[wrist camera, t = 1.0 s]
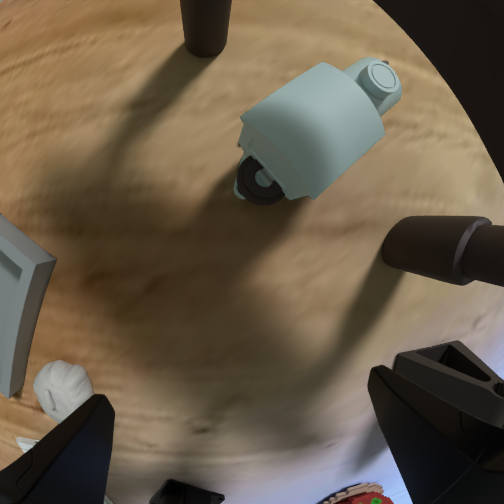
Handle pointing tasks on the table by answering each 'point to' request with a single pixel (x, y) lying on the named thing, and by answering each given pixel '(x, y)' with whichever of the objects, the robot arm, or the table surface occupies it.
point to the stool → (375, 125)
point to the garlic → (62, 388)
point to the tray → (19, 301)
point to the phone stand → (456, 379)
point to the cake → (361, 495)
